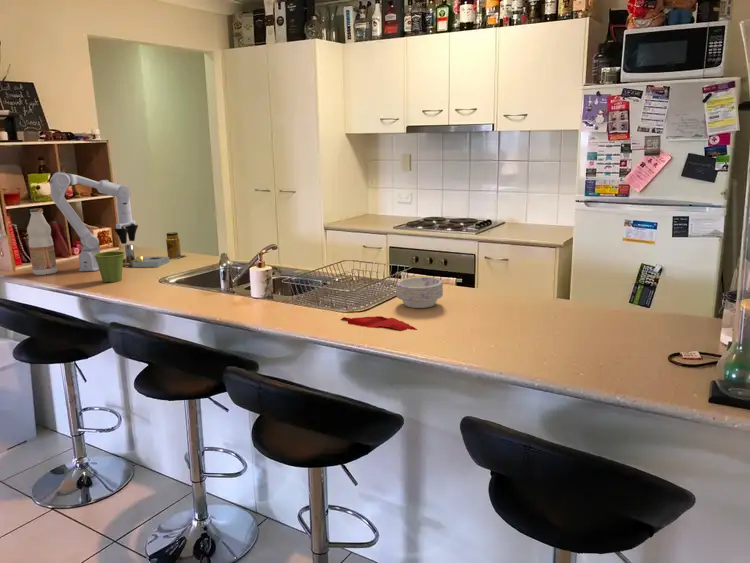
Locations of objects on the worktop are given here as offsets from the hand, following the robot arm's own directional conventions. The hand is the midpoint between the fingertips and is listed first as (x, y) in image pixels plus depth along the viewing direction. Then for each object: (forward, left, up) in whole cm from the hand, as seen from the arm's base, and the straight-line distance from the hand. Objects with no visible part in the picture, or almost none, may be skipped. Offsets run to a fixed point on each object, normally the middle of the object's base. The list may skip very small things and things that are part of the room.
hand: (128, 242), depth 287 cm
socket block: (-1, -11, -10) cm, 15 cm away
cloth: (-91, -125, -11) cm, 155 cm away
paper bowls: (-70, -136, -10) cm, 153 cm away
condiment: (+17, -15, -10) cm, 25 cm away
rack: (0, 0, -10) cm, 10 cm away
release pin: (-5, -7, -10) cm, 13 cm away
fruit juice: (-19, +29, -10) cm, 37 cm away
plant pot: (-34, -10, -10) cm, 37 cm away
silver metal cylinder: (0, 0, -9) cm, 9 cm away
